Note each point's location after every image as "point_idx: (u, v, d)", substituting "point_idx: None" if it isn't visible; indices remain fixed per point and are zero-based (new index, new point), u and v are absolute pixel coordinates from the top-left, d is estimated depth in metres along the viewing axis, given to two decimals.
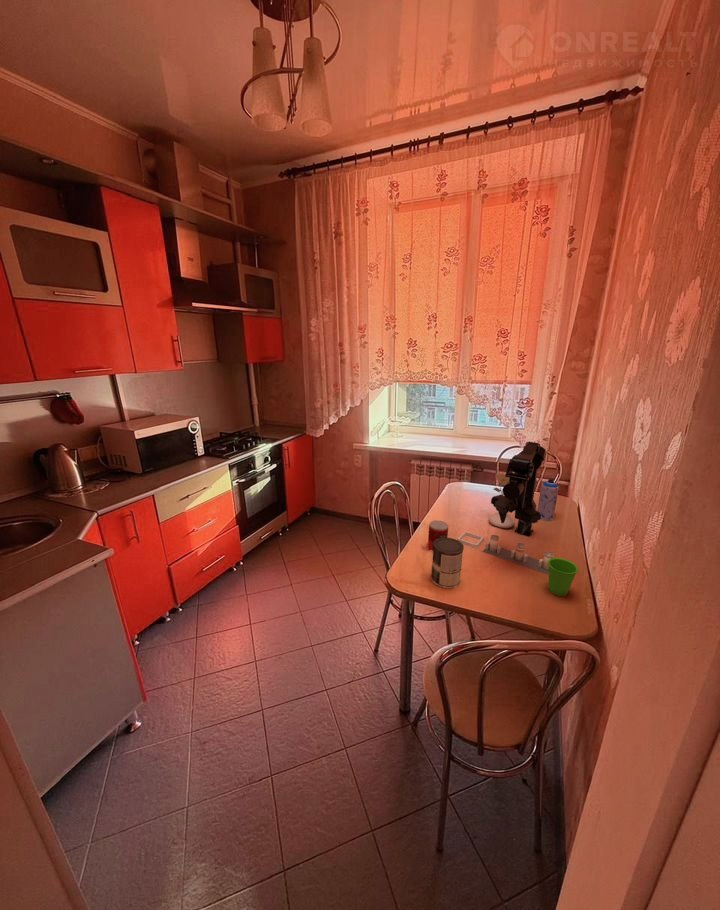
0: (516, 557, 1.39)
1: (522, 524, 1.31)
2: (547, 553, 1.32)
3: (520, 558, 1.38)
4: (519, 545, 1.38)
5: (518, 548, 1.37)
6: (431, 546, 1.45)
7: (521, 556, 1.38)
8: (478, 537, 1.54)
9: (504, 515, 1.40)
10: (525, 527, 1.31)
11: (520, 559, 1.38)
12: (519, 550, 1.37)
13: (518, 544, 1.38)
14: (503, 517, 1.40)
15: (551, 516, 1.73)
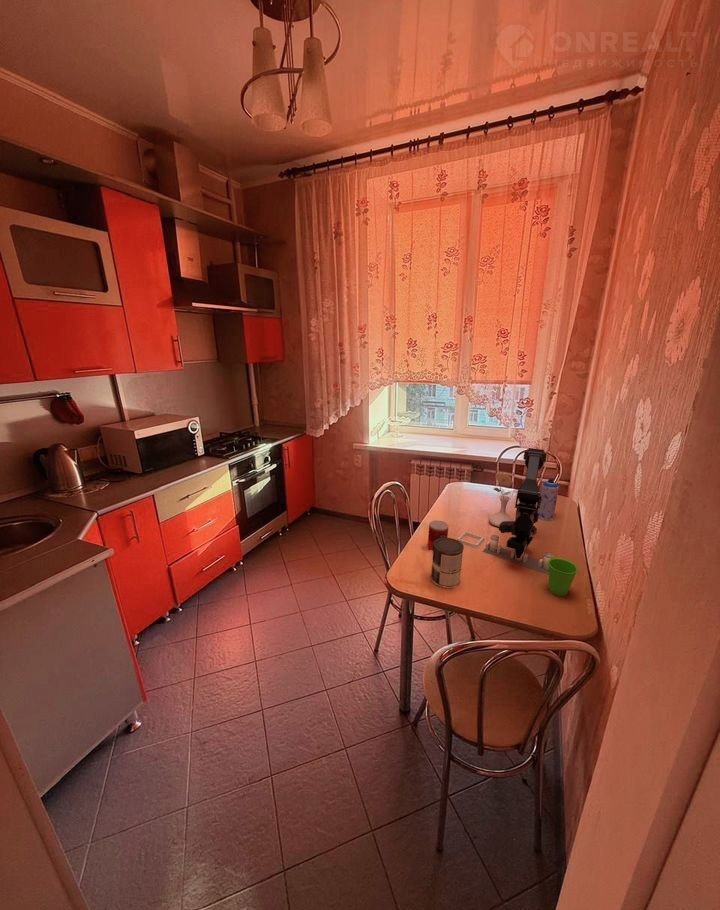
0: (516, 557, 1.39)
1: None
2: (547, 553, 1.32)
3: (520, 558, 1.38)
4: None
5: None
6: (431, 546, 1.45)
7: (521, 556, 1.38)
8: (478, 537, 1.54)
9: None
10: (518, 552, 1.36)
11: (520, 559, 1.38)
12: None
13: None
14: None
15: (551, 516, 1.73)
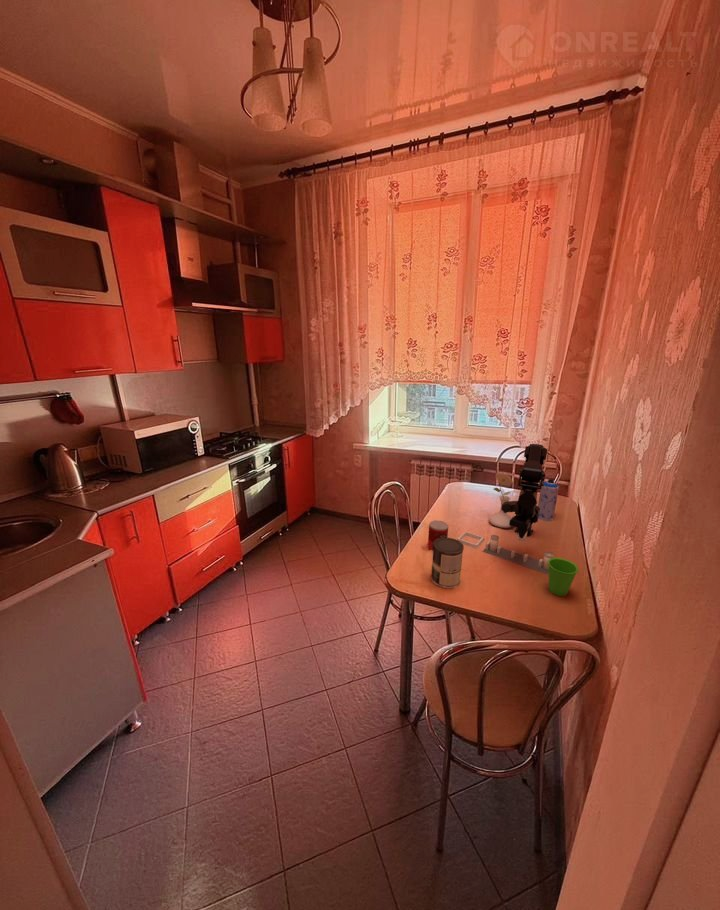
0: (519, 537, 1.36)
1: None
2: (547, 553, 1.32)
3: (523, 538, 1.35)
4: None
5: None
6: (431, 546, 1.45)
7: (524, 536, 1.35)
8: (478, 537, 1.54)
9: None
10: (521, 532, 1.34)
11: (523, 539, 1.36)
12: None
13: None
14: None
15: (551, 516, 1.73)
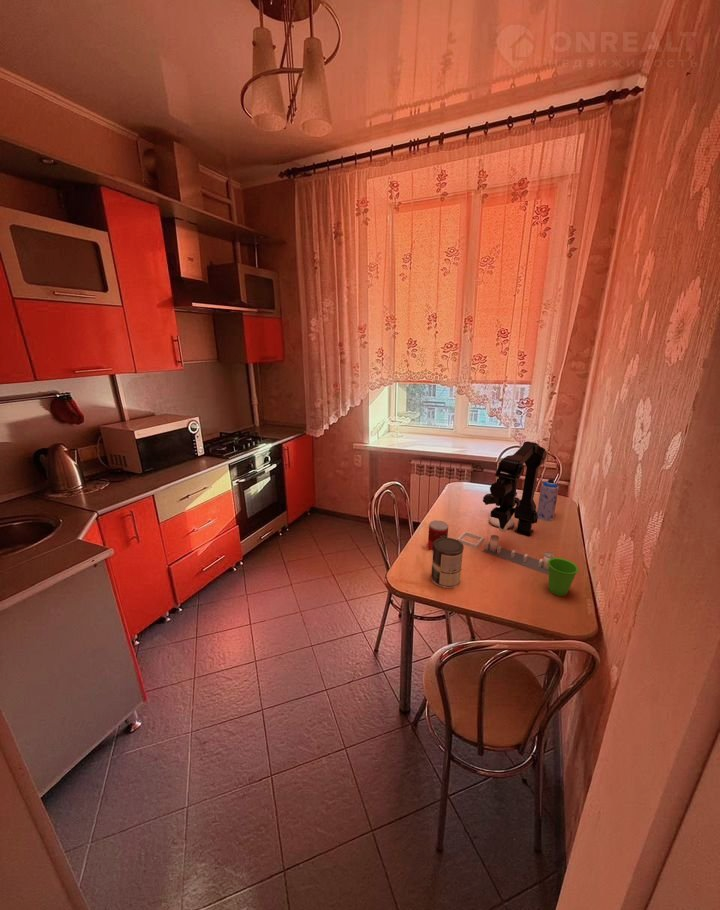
0: (500, 528, 1.41)
1: None
2: (547, 553, 1.32)
3: (504, 529, 1.40)
4: None
5: None
6: (431, 546, 1.45)
7: (505, 527, 1.40)
8: (478, 537, 1.54)
9: None
10: (502, 522, 1.38)
11: (504, 530, 1.40)
12: None
13: None
14: None
15: (551, 516, 1.73)
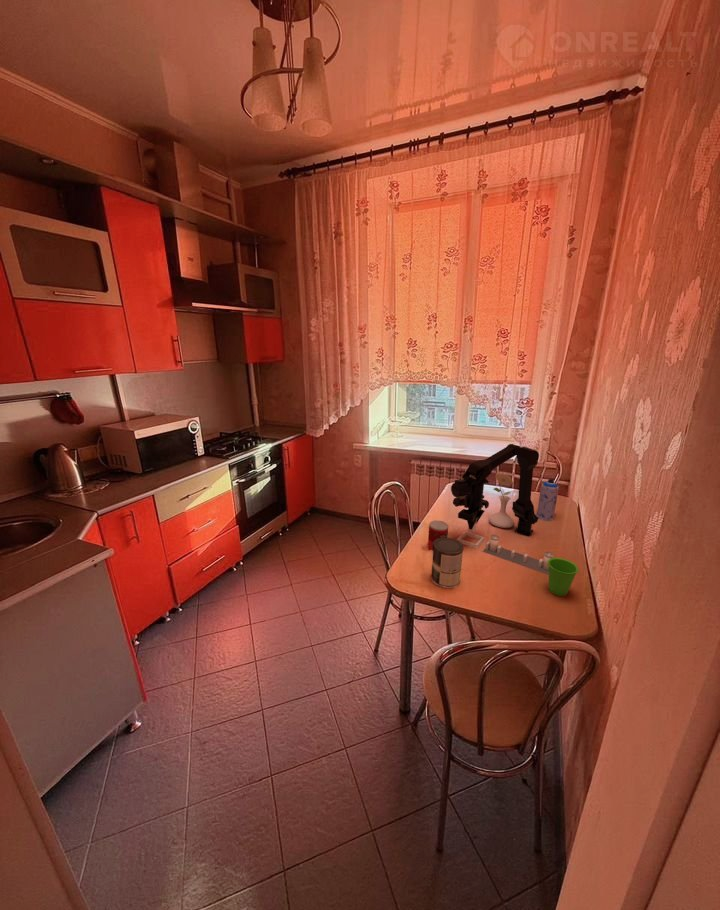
0: (469, 529, 1.50)
1: None
2: (547, 553, 1.32)
3: (472, 529, 1.49)
4: None
5: None
6: (431, 546, 1.45)
7: (473, 527, 1.49)
8: (478, 537, 1.54)
9: None
10: (470, 523, 1.48)
11: (472, 530, 1.49)
12: None
13: None
14: None
15: (551, 516, 1.73)
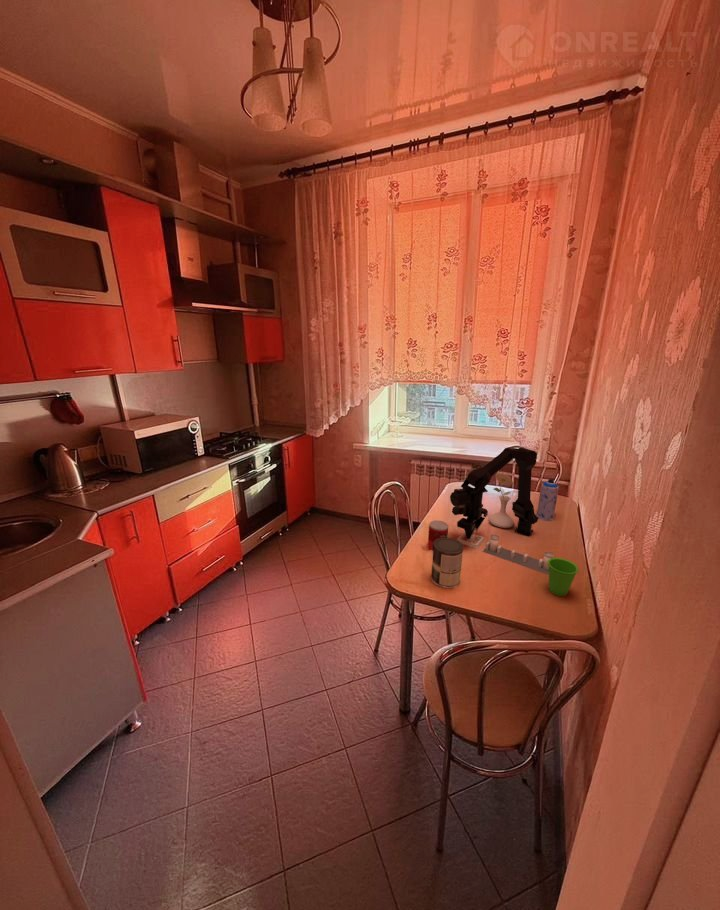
0: (468, 539, 1.52)
1: None
2: (547, 553, 1.32)
3: (471, 540, 1.51)
4: None
5: None
6: (431, 546, 1.45)
7: (472, 538, 1.51)
8: (478, 537, 1.54)
9: (475, 527, 1.53)
10: (468, 533, 1.48)
11: (471, 541, 1.51)
12: None
13: None
14: None
15: (551, 516, 1.73)
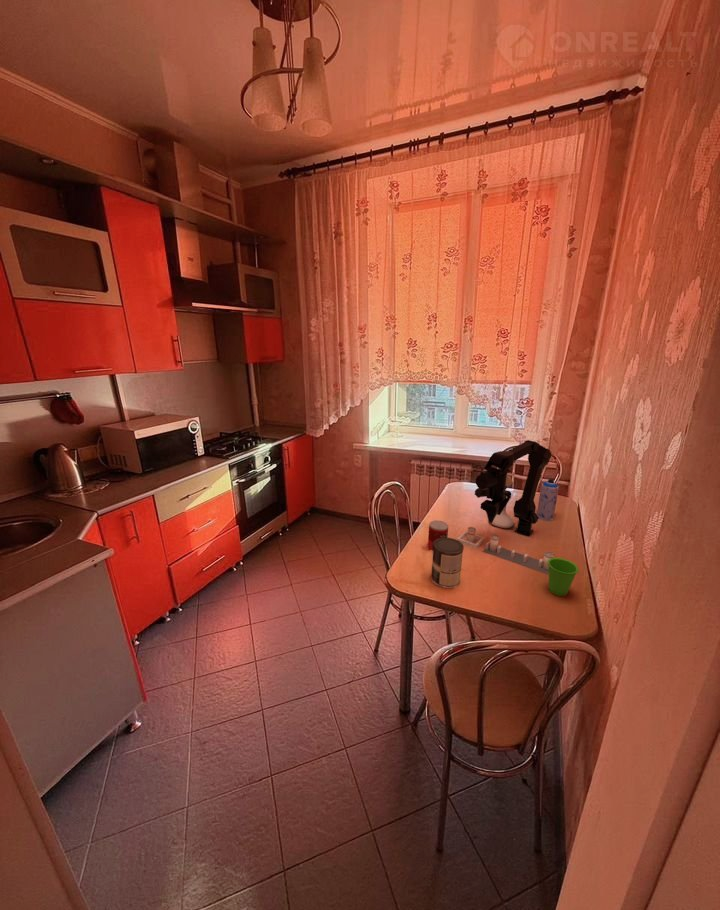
0: (468, 540, 1.52)
1: None
2: (547, 553, 1.32)
3: (471, 541, 1.51)
4: (470, 529, 1.50)
5: (469, 531, 1.50)
6: (431, 546, 1.45)
7: (472, 539, 1.51)
8: (478, 537, 1.54)
9: (500, 508, 1.51)
10: (490, 517, 1.44)
11: (471, 541, 1.51)
12: (470, 533, 1.50)
13: (469, 528, 1.51)
14: (498, 510, 1.51)
15: (551, 516, 1.73)
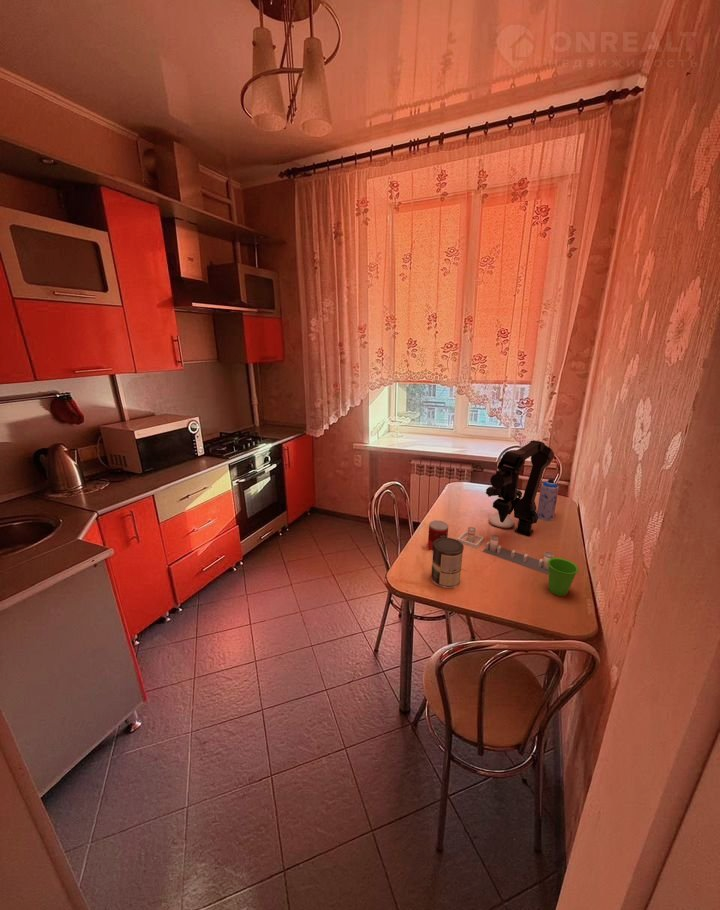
0: (468, 540, 1.52)
1: None
2: (547, 553, 1.32)
3: (471, 541, 1.51)
4: (470, 529, 1.50)
5: (469, 531, 1.50)
6: (431, 546, 1.45)
7: (472, 539, 1.51)
8: (478, 537, 1.54)
9: (511, 507, 1.50)
10: (502, 516, 1.43)
11: (471, 541, 1.51)
12: (470, 533, 1.50)
13: (469, 528, 1.51)
14: (509, 509, 1.51)
15: (551, 516, 1.73)
